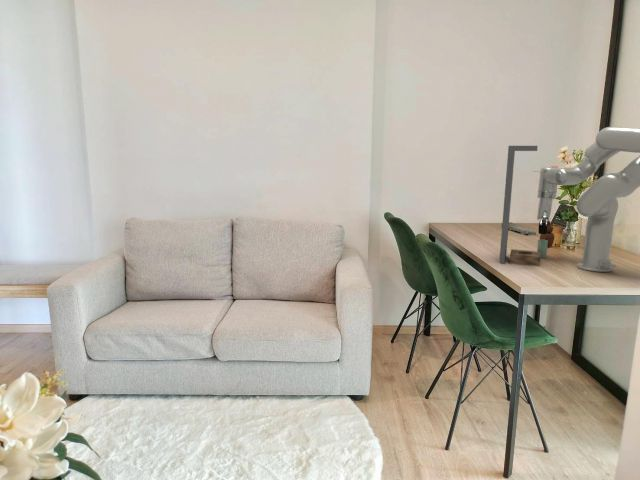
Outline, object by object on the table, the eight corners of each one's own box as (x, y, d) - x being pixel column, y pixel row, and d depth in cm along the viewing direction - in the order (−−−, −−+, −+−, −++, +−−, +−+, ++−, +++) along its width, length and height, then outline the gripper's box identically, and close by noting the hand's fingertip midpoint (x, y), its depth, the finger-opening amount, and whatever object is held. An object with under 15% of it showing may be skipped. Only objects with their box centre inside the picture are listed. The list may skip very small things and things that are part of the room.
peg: (548, 258, 219) (549, 240, 218) (540, 258, 218) (542, 241, 217) (541, 256, 223) (543, 239, 221) (534, 256, 222) (536, 239, 220)
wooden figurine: (544, 248, 242) (547, 218, 240) (536, 246, 248) (539, 217, 245) (555, 247, 244) (558, 218, 241) (547, 245, 250) (550, 216, 247)
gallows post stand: (527, 258, 218) (537, 146, 209) (526, 265, 203) (537, 145, 194) (501, 256, 222) (510, 146, 213) (499, 263, 208) (508, 145, 199)
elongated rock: (524, 238, 279) (540, 239, 280) (525, 229, 278) (541, 230, 279) (496, 226, 313) (511, 227, 314) (497, 218, 311) (512, 219, 313)
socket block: (539, 260, 214) (540, 251, 213) (539, 266, 203) (540, 256, 202) (510, 257, 219) (511, 249, 218) (509, 263, 208) (510, 254, 207)
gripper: (537, 192, 225) (533, 228, 228) (537, 196, 209) (533, 234, 213) (555, 193, 222) (550, 230, 225) (556, 197, 206) (551, 236, 210)
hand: (542, 232), depth 219 cm, fingers open, 9 cm apart
